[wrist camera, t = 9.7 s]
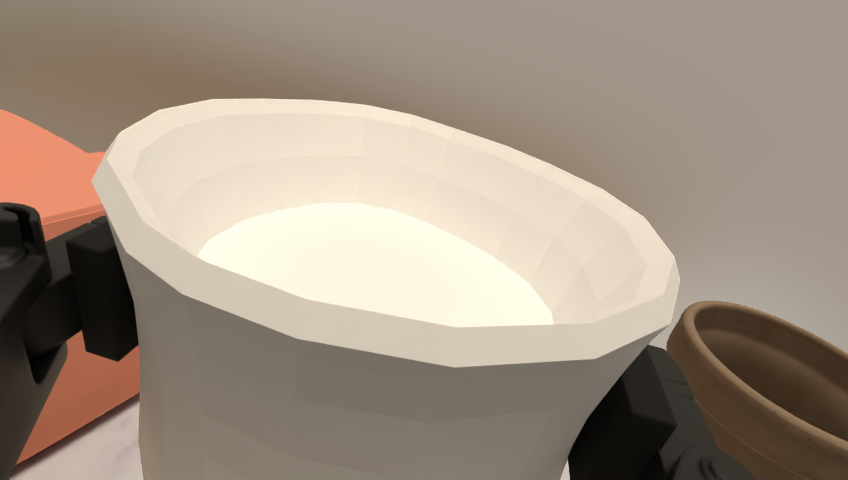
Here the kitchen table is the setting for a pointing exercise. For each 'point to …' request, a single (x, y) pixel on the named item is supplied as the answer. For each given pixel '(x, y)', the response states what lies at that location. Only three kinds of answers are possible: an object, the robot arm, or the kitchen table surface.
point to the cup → (368, 294)
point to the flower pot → (766, 390)
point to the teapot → (59, 212)
